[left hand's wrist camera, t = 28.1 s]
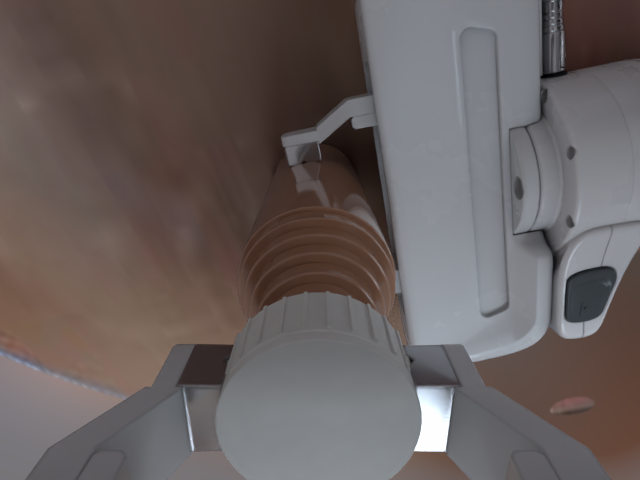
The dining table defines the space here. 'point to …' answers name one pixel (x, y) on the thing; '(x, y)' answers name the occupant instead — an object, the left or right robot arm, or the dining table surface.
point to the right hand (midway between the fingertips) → (298, 213)
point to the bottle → (316, 239)
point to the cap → (318, 393)
